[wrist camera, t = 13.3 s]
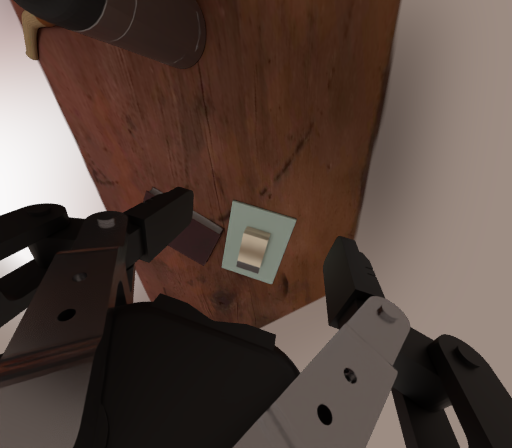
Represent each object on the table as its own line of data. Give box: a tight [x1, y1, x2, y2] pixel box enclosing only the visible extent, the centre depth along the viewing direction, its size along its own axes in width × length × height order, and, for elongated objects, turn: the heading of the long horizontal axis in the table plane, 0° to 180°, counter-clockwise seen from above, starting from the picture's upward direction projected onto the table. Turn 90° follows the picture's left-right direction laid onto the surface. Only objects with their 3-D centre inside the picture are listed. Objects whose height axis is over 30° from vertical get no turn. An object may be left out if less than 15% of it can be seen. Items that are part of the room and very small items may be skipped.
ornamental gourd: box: [22, 10, 56, 60], centre depth 31 cm, size 7×18×6 cm, turn 125°
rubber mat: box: [222, 200, 296, 284], centre depth 46 cm, size 14×20×1 cm
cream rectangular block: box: [236, 226, 271, 274], centre depth 45 cm, size 10×6×3 cm, turn 167°
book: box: [143, 187, 223, 266], centre depth 48 cm, size 12×19×3 cm, turn 61°
